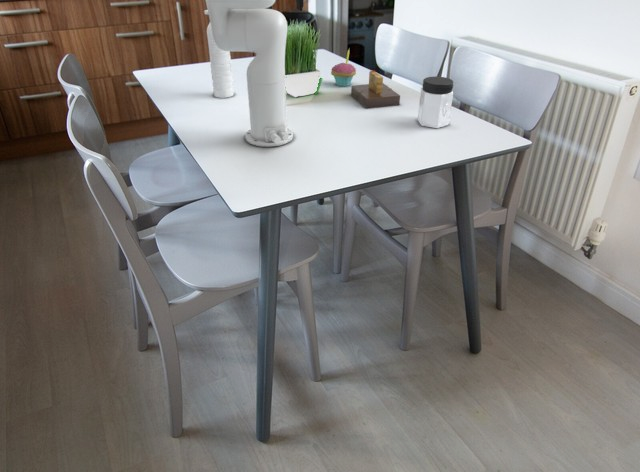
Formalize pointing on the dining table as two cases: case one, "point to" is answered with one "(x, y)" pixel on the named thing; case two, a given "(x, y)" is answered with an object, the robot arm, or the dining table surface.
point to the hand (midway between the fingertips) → (284, 11)
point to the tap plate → (375, 96)
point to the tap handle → (375, 82)
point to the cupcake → (343, 72)
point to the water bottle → (219, 67)
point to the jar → (435, 102)
